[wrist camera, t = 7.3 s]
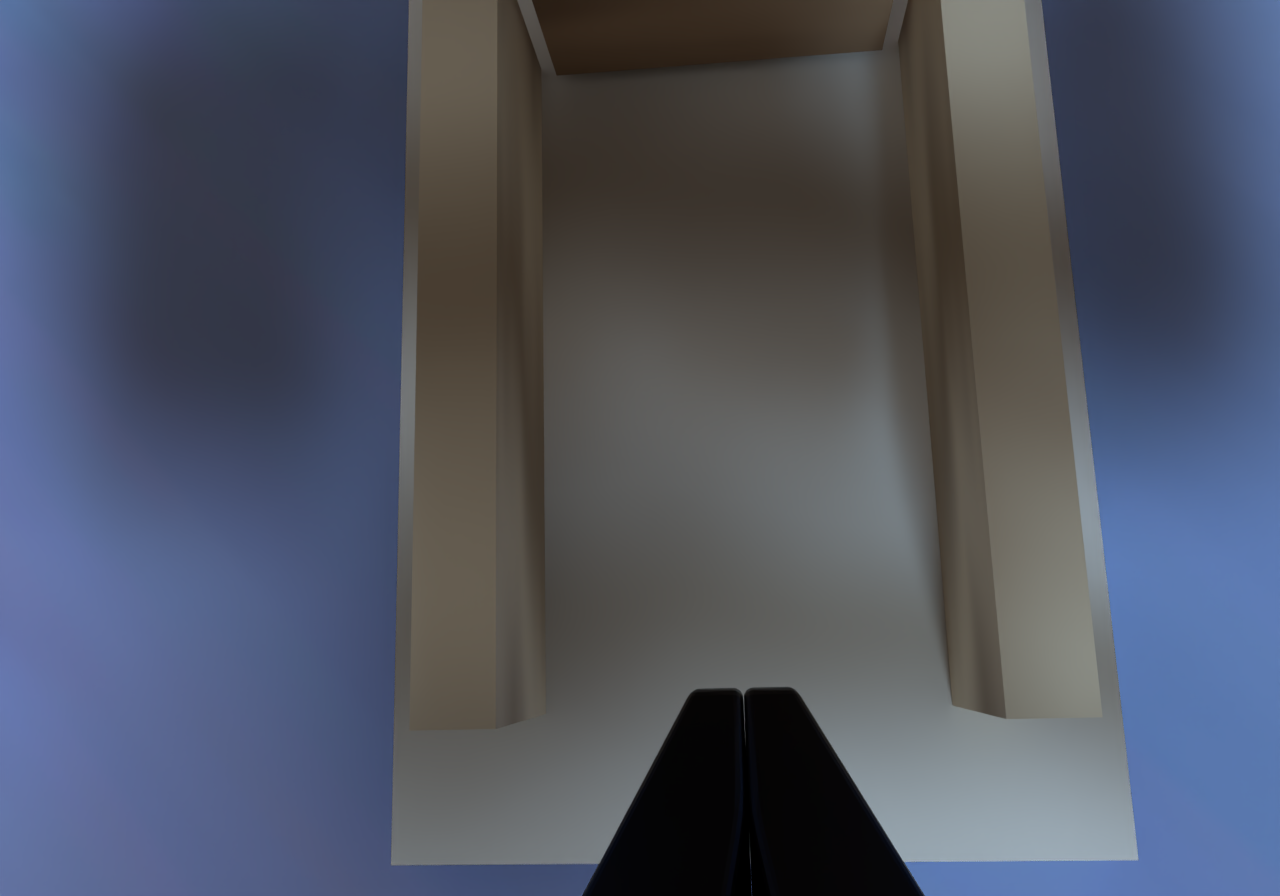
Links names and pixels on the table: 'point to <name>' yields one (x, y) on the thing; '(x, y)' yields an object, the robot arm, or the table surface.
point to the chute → (746, 437)
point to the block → (703, 31)
